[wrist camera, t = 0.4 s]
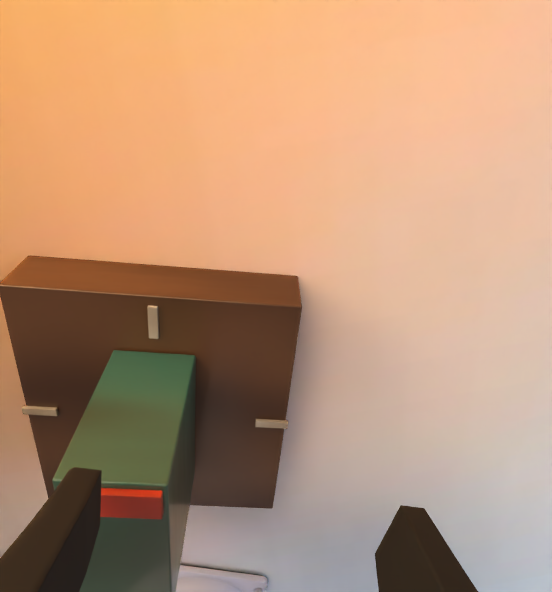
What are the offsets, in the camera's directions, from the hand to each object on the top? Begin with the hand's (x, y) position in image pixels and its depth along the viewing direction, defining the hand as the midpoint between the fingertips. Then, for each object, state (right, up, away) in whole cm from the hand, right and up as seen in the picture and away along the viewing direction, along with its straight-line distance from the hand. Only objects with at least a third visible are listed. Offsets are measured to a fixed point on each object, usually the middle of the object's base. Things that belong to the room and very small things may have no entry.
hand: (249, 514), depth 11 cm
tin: (-4, 0, +9) cm, 10 cm away
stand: (-4, +1, +11) cm, 12 cm away
